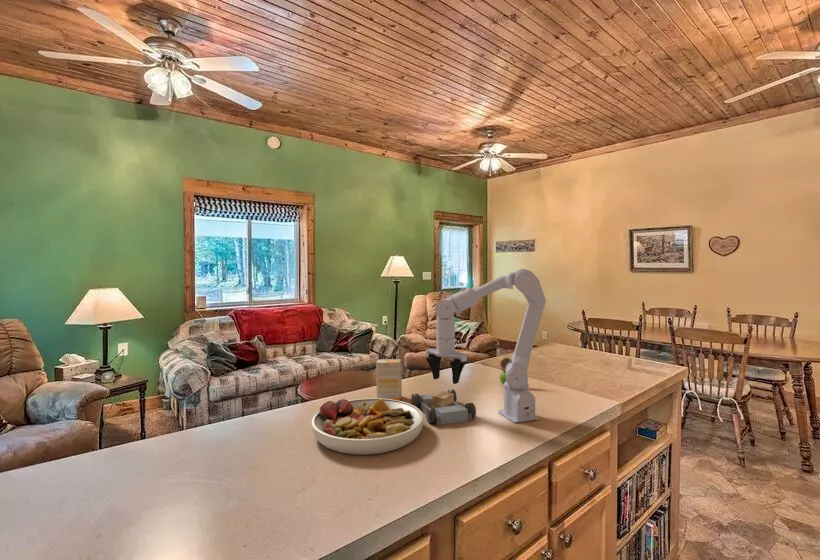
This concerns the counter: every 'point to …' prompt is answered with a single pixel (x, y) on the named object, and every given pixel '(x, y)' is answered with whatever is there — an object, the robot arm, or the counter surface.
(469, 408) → the car chassis
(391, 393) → the supplement box
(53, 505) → the counter surface
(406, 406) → the bowl
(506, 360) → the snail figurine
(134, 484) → the counter surface
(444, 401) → the engine block
